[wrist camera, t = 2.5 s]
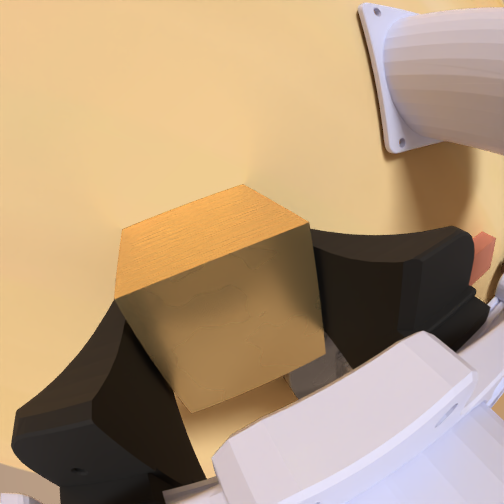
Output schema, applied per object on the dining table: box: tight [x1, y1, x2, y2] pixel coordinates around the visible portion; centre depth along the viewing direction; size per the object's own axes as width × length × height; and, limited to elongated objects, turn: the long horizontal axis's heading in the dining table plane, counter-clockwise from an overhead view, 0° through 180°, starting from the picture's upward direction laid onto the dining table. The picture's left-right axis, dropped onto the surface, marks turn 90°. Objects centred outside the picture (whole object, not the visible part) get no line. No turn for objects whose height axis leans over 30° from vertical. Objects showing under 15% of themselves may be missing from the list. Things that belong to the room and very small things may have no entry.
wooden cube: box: [114, 184, 326, 414], centre depth 10 cm, size 5×5×5 cm
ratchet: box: [283, 232, 496, 399], centre depth 17 cm, size 22×8×5 cm, turn 105°
